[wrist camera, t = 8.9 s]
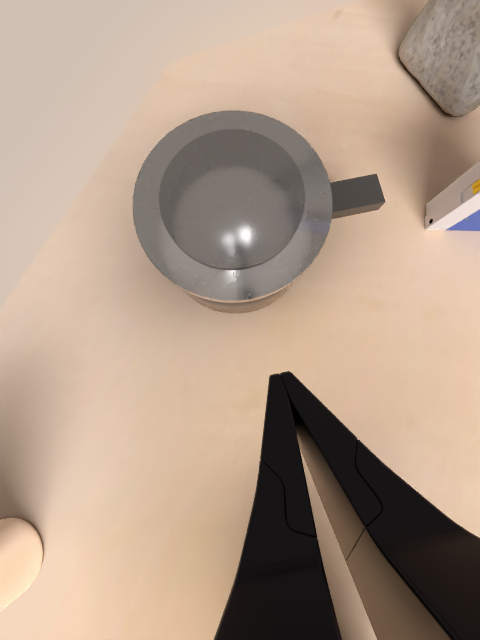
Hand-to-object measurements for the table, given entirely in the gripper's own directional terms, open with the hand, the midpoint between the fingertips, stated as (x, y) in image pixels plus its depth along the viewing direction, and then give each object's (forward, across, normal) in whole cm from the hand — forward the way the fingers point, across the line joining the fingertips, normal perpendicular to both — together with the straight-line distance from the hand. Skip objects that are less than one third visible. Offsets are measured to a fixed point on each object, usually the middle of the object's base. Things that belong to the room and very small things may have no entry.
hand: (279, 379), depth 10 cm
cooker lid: (+12, 0, -4) cm, 13 cm away
